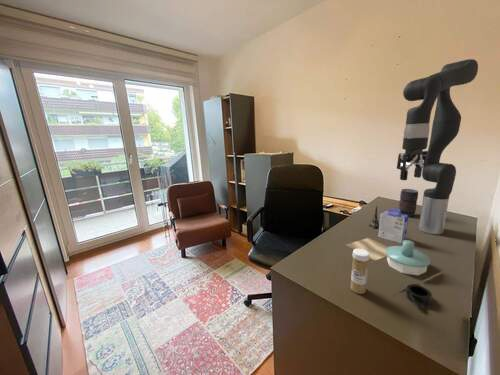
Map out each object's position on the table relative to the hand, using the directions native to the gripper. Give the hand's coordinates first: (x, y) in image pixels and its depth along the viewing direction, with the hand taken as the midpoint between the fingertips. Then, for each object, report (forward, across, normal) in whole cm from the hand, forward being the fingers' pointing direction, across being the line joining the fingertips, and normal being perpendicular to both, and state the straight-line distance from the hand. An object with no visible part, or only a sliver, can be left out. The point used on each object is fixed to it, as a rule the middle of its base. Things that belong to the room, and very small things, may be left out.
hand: (410, 178), depth 84 cm
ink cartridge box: (+30, -4, -7) cm, 31 cm away
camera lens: (+30, -39, -22) cm, 54 cm away
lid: (+26, +12, +9) cm, 30 cm away
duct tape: (+31, +25, +20) cm, 44 cm away
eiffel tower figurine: (+31, -8, -19) cm, 37 cm away
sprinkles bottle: (+30, +37, +10) cm, 49 cm away
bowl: (+30, +12, +9) cm, 34 cm away
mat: (+30, +12, -5) cm, 33 cm away
